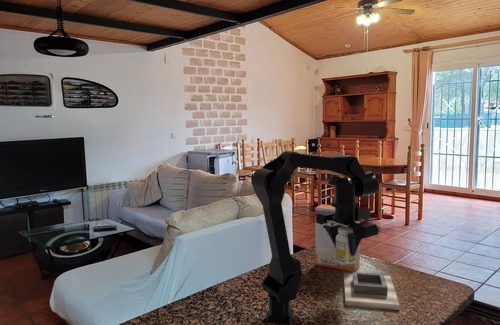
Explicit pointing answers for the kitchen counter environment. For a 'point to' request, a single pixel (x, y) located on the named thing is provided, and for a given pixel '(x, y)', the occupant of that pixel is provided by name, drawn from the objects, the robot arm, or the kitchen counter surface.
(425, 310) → the kitchen counter surface
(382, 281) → the collar board
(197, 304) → the kitchen counter surface
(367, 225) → the robot arm
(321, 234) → the cracker box
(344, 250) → the supplement bottle
